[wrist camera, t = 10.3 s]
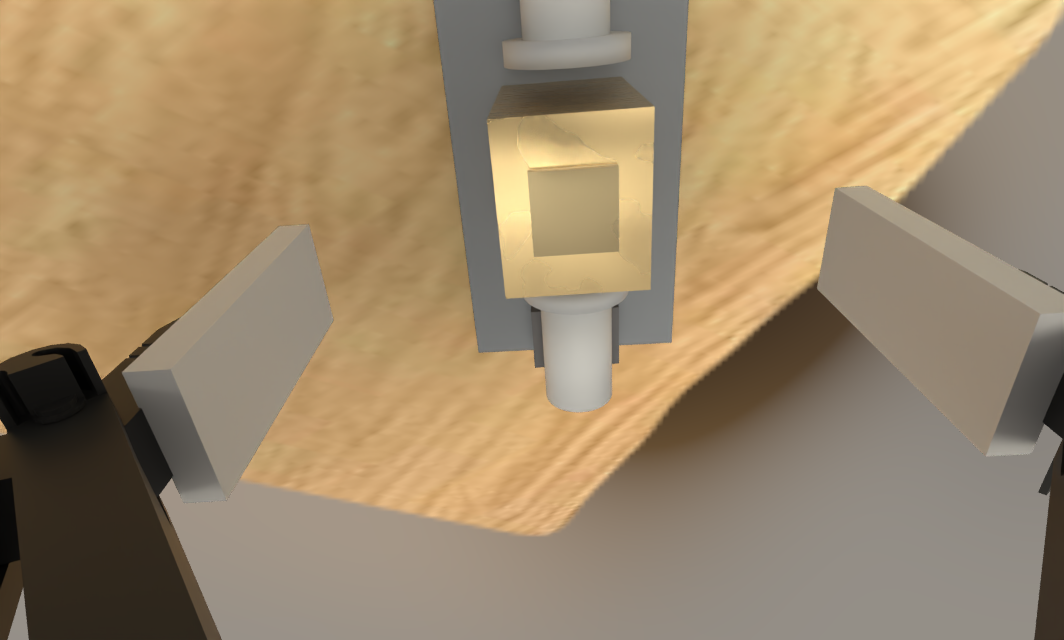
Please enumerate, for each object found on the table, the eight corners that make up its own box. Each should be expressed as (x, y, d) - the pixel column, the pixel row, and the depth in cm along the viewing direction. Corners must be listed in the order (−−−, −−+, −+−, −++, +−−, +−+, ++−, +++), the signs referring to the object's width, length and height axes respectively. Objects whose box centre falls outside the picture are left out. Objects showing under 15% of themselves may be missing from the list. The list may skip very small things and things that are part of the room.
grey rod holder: (481, 338, 32) (465, 427, 26) (425, -110, 23) (377, -157, 16) (666, 328, 32) (700, 416, 25) (686, -132, 23) (749, -190, 16)
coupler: (513, 222, 28) (505, 302, 20) (501, 85, 25) (486, 121, 18) (621, 215, 27) (652, 293, 20) (621, 76, 25) (656, 108, 17)
